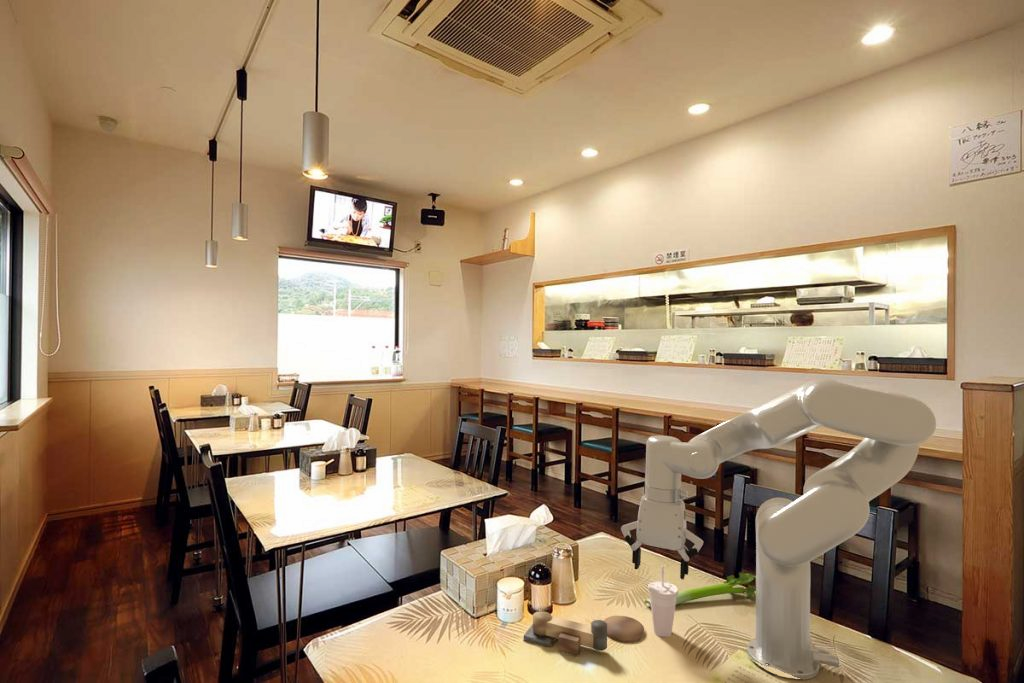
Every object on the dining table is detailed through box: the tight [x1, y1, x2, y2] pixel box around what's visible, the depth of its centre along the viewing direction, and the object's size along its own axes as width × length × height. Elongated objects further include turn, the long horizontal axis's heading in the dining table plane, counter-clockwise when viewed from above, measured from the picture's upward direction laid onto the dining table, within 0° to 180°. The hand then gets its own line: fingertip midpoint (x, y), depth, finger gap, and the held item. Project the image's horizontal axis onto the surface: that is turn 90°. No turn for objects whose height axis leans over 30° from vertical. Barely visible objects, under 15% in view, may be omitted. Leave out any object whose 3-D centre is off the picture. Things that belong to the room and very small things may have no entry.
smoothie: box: [647, 565, 679, 638], centre depth 111 cm, size 6×6×14 cm
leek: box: [644, 571, 756, 606], centre depth 125 cm, size 6×7×30 cm
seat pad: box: [603, 615, 645, 643], centre depth 112 cm, size 9×9×1 cm
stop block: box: [557, 632, 581, 658], centre depth 104 cm, size 4×2×3 cm, turn 65°
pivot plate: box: [523, 623, 557, 648], centre depth 109 cm, size 6×6×1 cm
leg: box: [532, 610, 608, 652], centre depth 106 cm, size 16×4×4 cm, turn 64°
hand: (659, 571), depth 112 cm, fingers open, 9 cm apart
